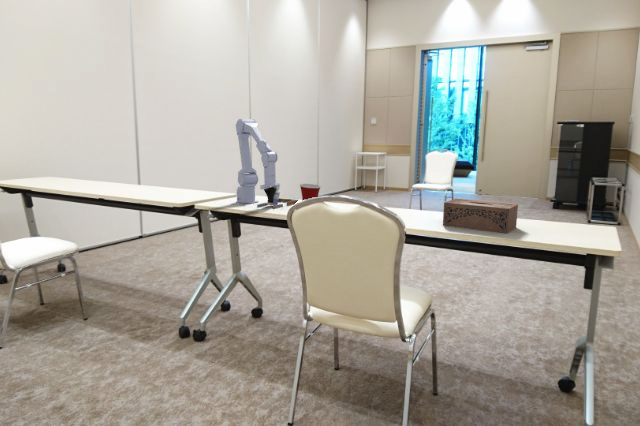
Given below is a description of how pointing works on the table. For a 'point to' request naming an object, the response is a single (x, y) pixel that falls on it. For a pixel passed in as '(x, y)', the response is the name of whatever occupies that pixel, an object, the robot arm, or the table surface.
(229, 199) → the table surface
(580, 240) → the table surface
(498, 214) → the tissue box cover
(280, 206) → the checker cradle
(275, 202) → the pill bottle
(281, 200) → the walnut trough
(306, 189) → the plastic cup
